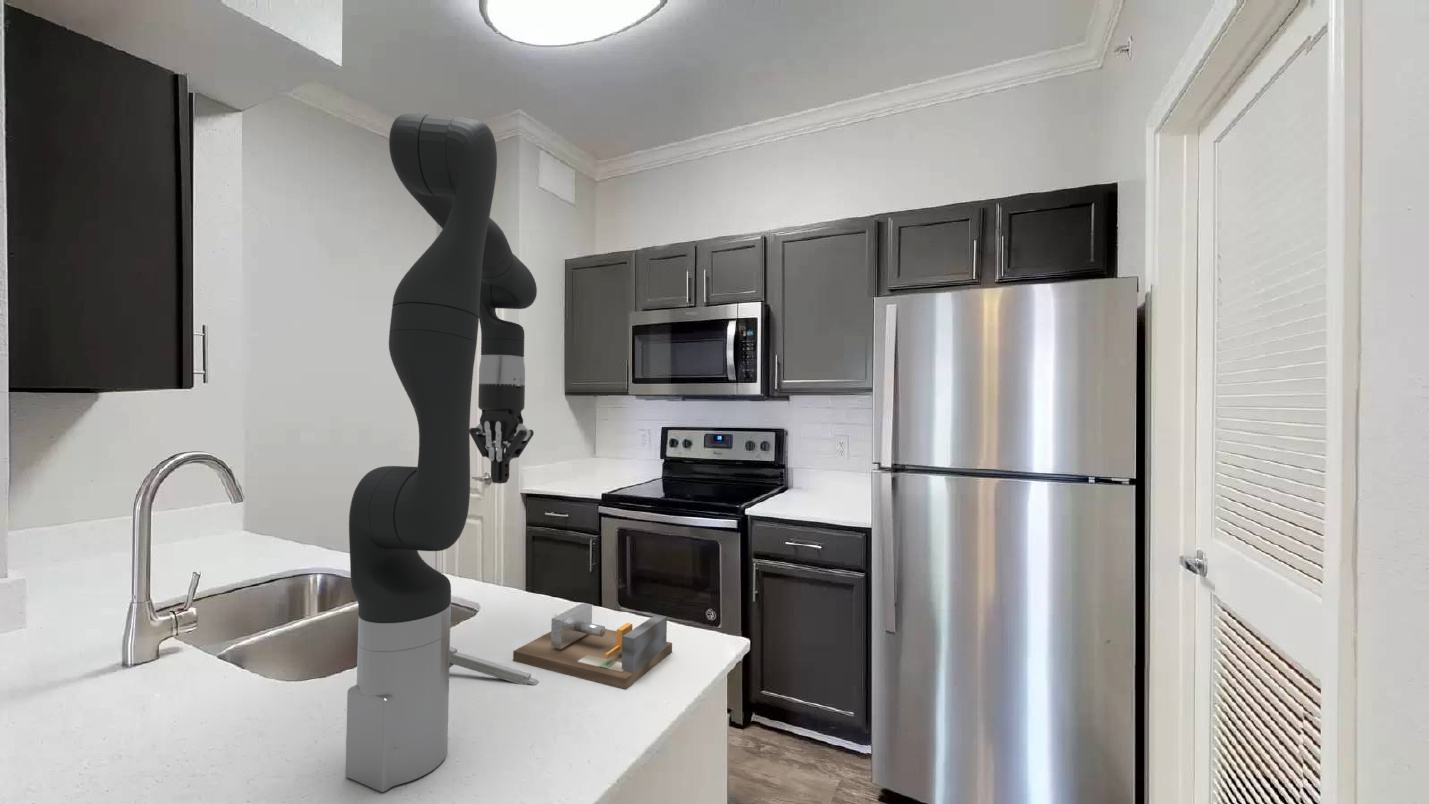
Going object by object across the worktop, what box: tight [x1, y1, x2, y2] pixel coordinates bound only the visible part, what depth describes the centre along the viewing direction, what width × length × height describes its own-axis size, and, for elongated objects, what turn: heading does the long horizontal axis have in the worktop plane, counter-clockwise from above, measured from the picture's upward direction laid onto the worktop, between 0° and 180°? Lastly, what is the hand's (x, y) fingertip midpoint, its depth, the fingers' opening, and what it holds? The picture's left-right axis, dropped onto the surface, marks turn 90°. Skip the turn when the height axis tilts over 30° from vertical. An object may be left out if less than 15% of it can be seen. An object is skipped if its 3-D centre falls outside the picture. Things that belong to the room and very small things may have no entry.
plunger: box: [550, 602, 606, 649], centre depth 93 cm, size 8×7×4 cm
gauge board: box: [512, 614, 673, 690], centre depth 92 cm, size 14×21×6 cm, turn 66°
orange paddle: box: [605, 622, 633, 659], centre depth 89 cm, size 6×1×3 cm, turn 156°
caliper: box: [449, 646, 539, 686], centre depth 85 cm, size 20×1×6 cm, turn 81°
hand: (499, 482), depth 99 cm, fingers closed
